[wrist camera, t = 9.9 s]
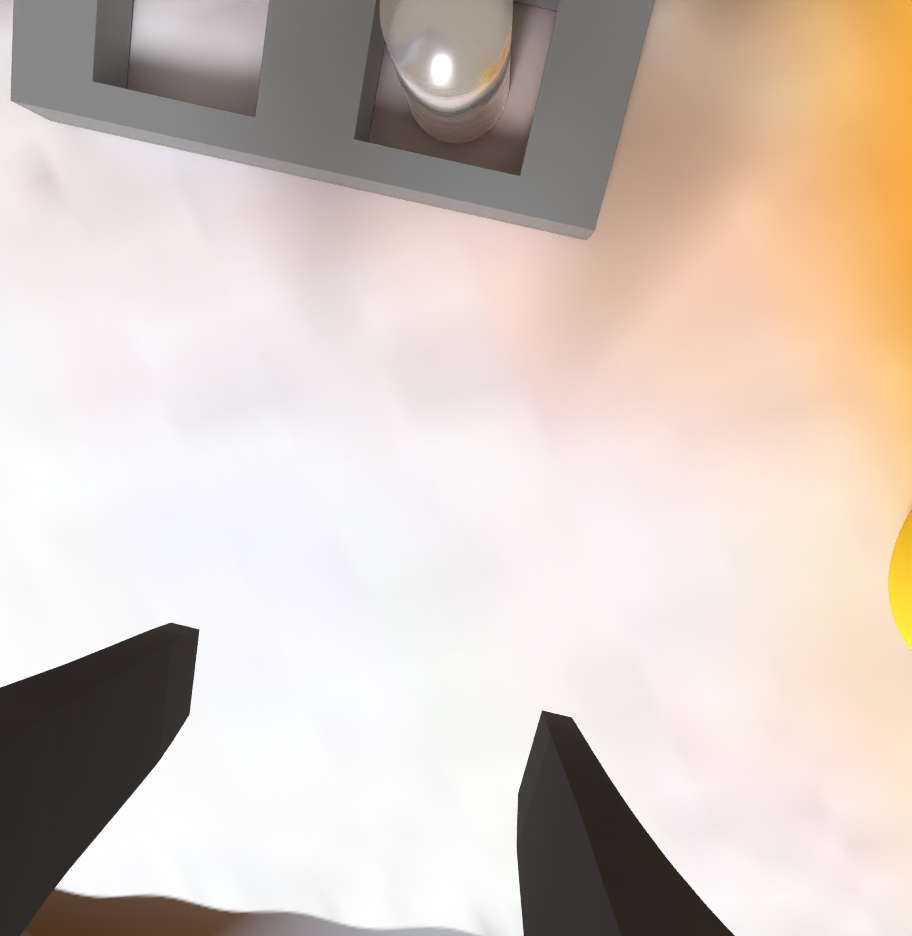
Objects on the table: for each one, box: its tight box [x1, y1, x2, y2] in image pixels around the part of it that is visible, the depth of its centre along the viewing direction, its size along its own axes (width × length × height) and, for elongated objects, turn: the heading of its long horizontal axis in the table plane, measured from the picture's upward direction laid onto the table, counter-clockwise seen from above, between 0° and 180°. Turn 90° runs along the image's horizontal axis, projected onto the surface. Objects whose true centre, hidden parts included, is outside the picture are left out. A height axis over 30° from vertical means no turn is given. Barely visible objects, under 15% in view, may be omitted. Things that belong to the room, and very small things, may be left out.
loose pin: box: [380, 0, 513, 144], centre depth 15 cm, size 3×3×4 cm
